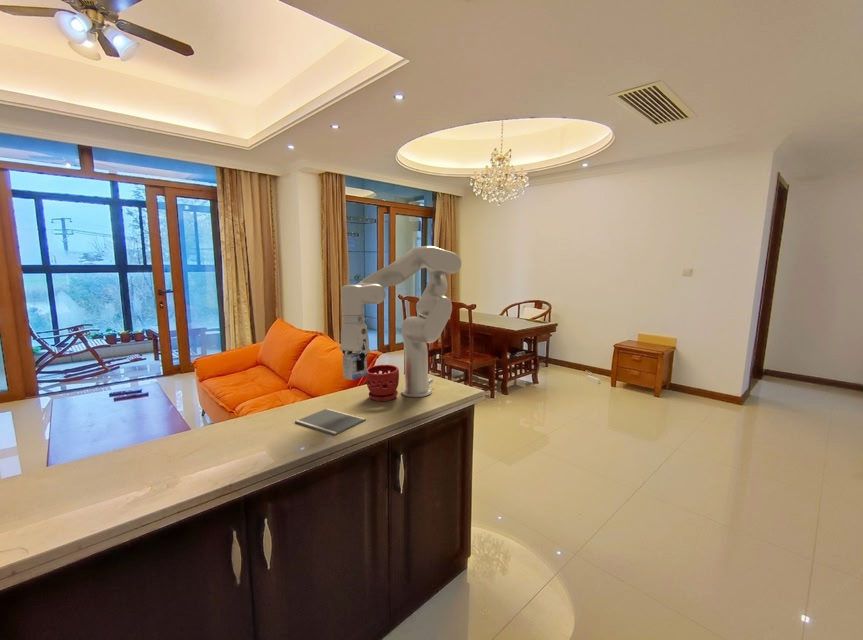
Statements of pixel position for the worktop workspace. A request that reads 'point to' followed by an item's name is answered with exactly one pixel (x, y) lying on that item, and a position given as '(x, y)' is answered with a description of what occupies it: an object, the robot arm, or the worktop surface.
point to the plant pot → (382, 382)
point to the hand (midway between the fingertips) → (355, 368)
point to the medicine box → (353, 367)
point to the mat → (330, 421)
